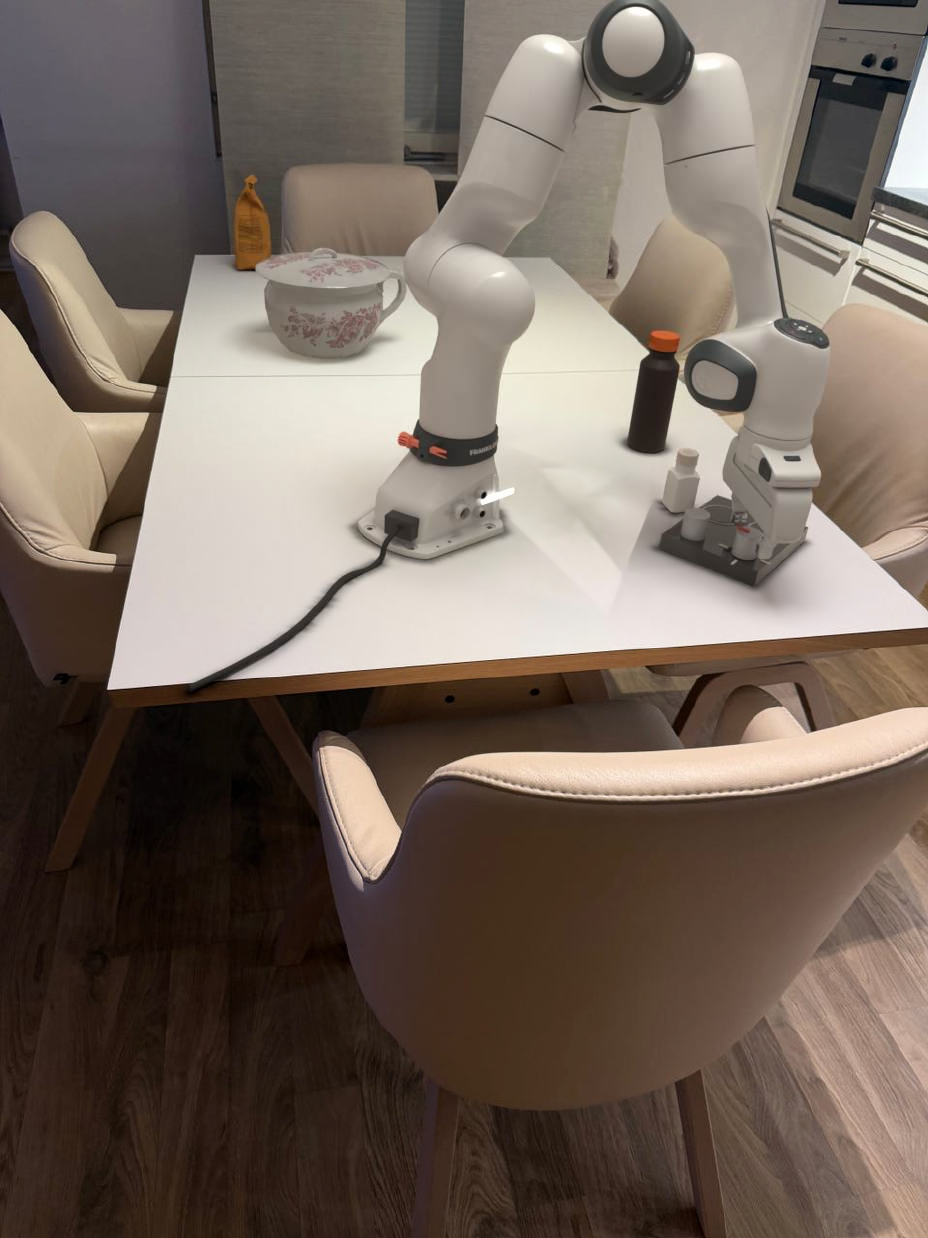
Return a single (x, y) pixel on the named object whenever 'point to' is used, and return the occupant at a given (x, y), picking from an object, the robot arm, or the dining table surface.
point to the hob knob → (746, 542)
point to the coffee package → (251, 229)
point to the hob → (725, 549)
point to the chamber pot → (326, 300)
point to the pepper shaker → (682, 482)
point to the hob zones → (706, 521)
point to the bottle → (654, 394)
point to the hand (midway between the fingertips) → (749, 539)
